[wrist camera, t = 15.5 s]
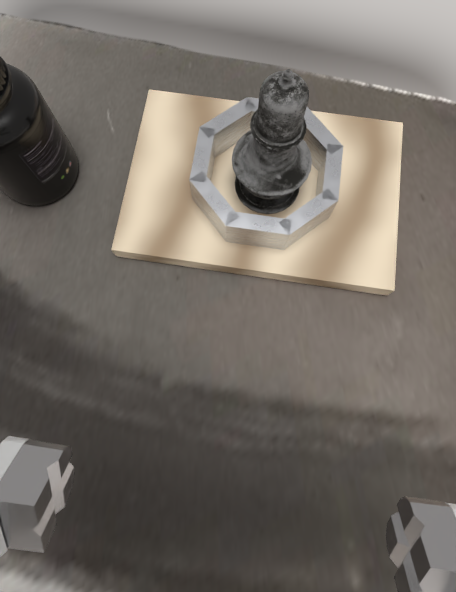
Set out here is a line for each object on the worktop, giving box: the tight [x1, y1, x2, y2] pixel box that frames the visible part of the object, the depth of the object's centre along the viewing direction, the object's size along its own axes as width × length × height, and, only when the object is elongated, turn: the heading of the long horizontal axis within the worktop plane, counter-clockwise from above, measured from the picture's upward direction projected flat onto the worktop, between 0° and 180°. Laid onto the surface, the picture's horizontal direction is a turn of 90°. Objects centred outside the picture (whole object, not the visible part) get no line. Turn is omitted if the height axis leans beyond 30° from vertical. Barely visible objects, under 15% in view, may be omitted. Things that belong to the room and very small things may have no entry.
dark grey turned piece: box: [232, 69, 312, 214], centre depth 28 cm, size 6×6×12 cm
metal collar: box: [189, 97, 343, 250], centre depth 32 cm, size 11×11×3 cm
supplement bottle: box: [0, 57, 78, 205], centre depth 30 cm, size 7×7×12 cm
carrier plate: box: [111, 90, 403, 296], centre depth 35 cm, size 22×15×2 cm
